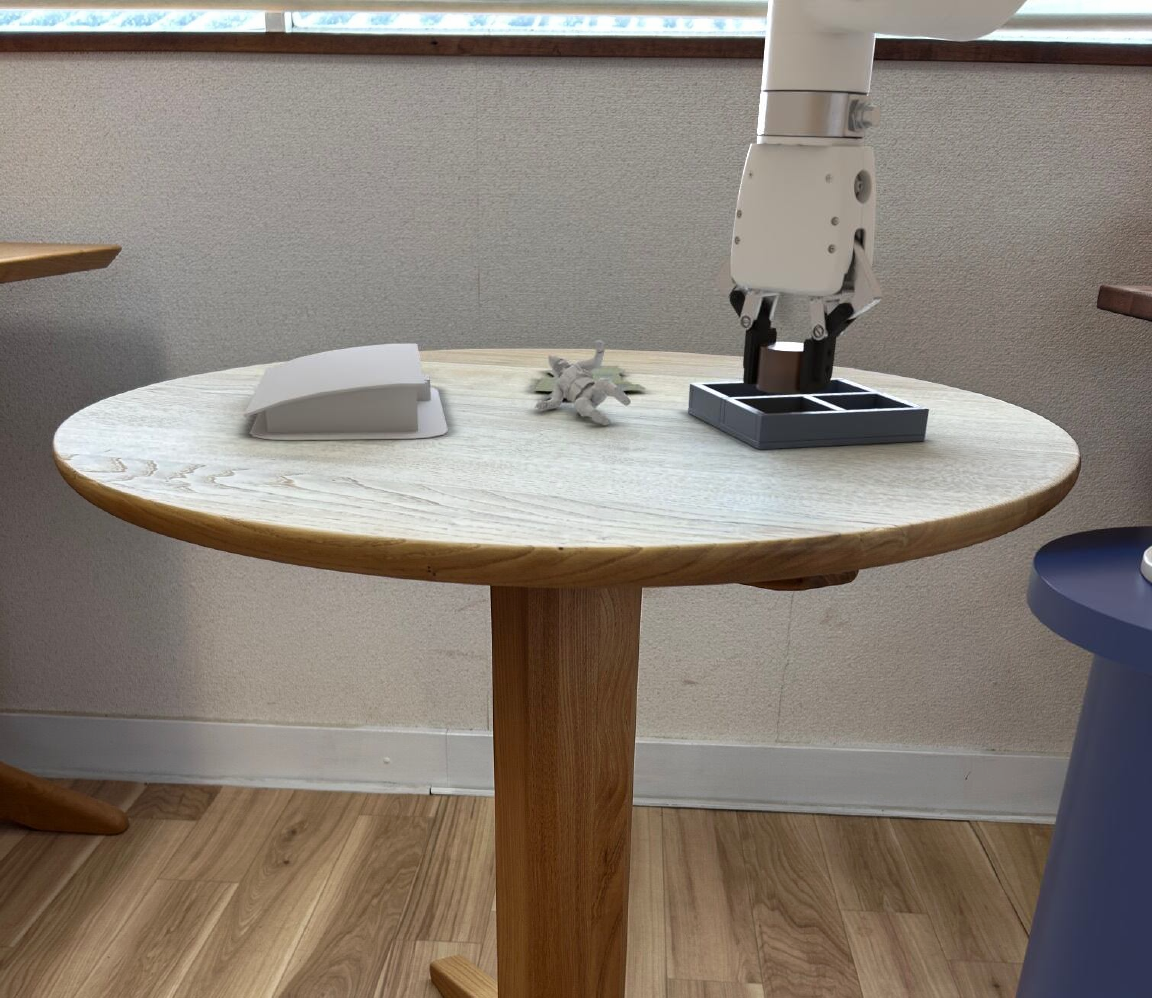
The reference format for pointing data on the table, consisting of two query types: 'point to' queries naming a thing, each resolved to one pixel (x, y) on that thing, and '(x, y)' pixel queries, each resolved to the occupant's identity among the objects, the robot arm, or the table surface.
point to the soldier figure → (582, 386)
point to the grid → (807, 415)
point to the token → (779, 367)
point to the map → (598, 373)
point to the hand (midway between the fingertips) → (785, 384)
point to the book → (348, 397)
